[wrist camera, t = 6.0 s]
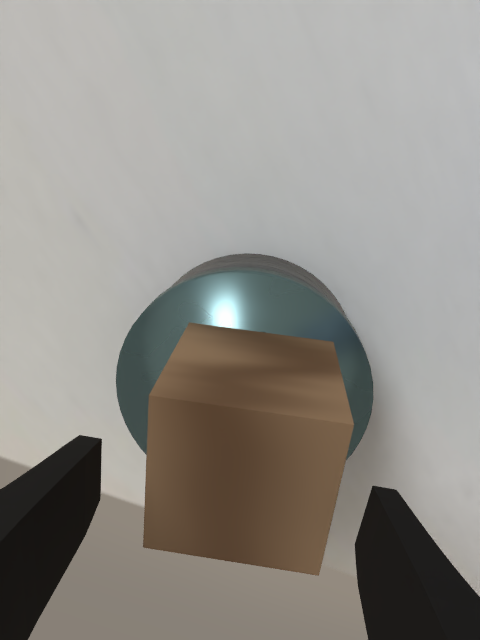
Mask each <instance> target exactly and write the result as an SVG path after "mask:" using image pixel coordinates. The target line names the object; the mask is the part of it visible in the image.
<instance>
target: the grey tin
mask: <svg viewBox="0 0 480 640" xmlns="http://www.w3.org/2000/svg"><path fill="white" fill-rule="evenodd" d="M189 322H190V323H197V324H205V325H212V326H220V327H227V328H235V329H242V330H250V331H257V332H265V333H272V334H280V335H287V336H295V337H302V338H310V339H317V340H325V341H332V342H334V346H335V350H336V354H337V358H338V362H339V366H340V370H341V374H342V378H343V382H344V386H345V390H346V394H347V398H348V402H349V406H350V410H351V414H352V418H353V423H354V427H353V431H352V435H351V440H350V444H349V448H348V453H347V457H346V460H347V459H348V457H349V456H350V455H351V454H352V453H353V451H354V450H355V448H356V447H357V445H358V444H359V442H360V441H361V439H362V436H363V434H364V432H365V430H366V428H367V425H368V422H369V418H370V415H371V410H372V403H373V381H372V375H371V368H370V365H369V362H368V359H367V356H366V353H365V350H364V348H363V345H362V343H361V341H360V339H359V337H358V335H357V333H356V331H355V329H354V327H353V326H352V324H351V323H350V322H349V320H348V319H347V317H346V315H345V313H344V311H343V309H342V307H341V305H340V304H339V302H338V301H337V299H336V298H335V296H334V295H333V294H332V292H331V291H330V290H329V289H328V288H327V287H326V286H325V285H324V284H323V283H322V282H321V281H320V280H319V279H317V278H316V277H315V276H314V275H313V274H311V273H309V272H308V271H306V270H305V269H303V268H301V267H300V266H297V265H295V264H293V263H291V262H289V261H286V260H283V259H280V258H276V257H273V256H267V255H261V254H235V255H228V256H224V257H219V258H216V259H213V260H210V261H207V262H205V263H203V264H201V265H199V266H197V267H195V268H193V269H192V270H190V271H189V272H187V273H186V274H185V275H183V276H182V277H181V278H180V279H179V280H178V281H177V282H176V283H174V284H173V285H172V287H170V288H169V289H167V290H166V291H165V292H163V293H162V294H160V295H159V296H158V297H157V298H156V299H155V300H154V301H153V302H152V303H151V304H150V305H149V306H148V307H147V308H146V309H145V311H144V312H143V313H142V314H141V315H140V317H139V318H138V319H137V321H136V322H135V323H134V324H133V326H132V328H131V329H130V331H129V333H128V335H127V337H126V338H125V341H124V343H123V346H122V349H121V351H120V355H119V360H118V364H117V374H116V387H117V397H118V402H119V406H120V410H121V413H122V416H123V418H124V421H125V423H126V425H127V427H128V429H129V431H130V433H131V435H132V437H133V438H134V439H135V441H136V442H137V444H138V445H139V447H140V448H141V449H142V450H143V451H144V453H145V454H146V455H147V432H148V405H149V394H150V392H151V391H152V389H153V387H154V385H155V383H156V381H157V380H158V378H159V376H160V374H161V372H162V371H163V369H164V367H165V365H166V363H167V362H168V360H169V358H170V356H171V354H172V353H173V351H174V349H175V347H176V345H177V344H178V342H179V340H180V338H181V336H182V335H183V333H184V331H185V329H186V327H187V325H188V324H189Z"/></svg>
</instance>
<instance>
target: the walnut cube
mask: <svg viewBox="0 0 480 640" xmlns="http://www.w3.org/2000/svg"><path fill="white" fill-rule="evenodd" d="M353 427H354V423H353V418H352V414H351V410H350V406H349V402H348V398H347V394H346V390H345V386H344V382H343V378H342V374H341V370H340V366H339V362H338V358H337V354H336V350H335V346H334V342H332V341H325V340H317V339H310V338H302V337H295V336H287V335H280V334H272V333H265V332H257V331H250V330H242V329H235V328H227V327H220V326H212V325H205V324H197V323H190V322H189V324H188V325H187V327H186V329H185V331H184V333H183V335H182V336H181V338H180V340H179V342H178V344H177V345H176V347H175V349H174V351H173V353H172V354H171V356H170V358H169V360H168V362H167V363H166V365H165V367H164V369H163V371H162V372H161V374H160V376H159V378H158V380H157V381H156V383H155V385H154V387H153V389H152V391H151V392H150V394H149V405H148V432H147V459H146V486H145V515H144V540H143V547H144V548H150V549H156V550H163V551H169V552H175V553H181V554H188V555H194V556H200V557H206V558H213V559H219V560H225V561H231V562H237V563H244V564H251V565H256V566H263V567H269V568H275V569H281V570H288V571H294V572H300V573H306V574H312V575H319V572H320V568H321V564H322V560H323V555H324V551H325V547H326V542H327V538H328V534H329V530H330V525H331V521H332V517H333V513H334V508H335V504H336V500H337V495H338V491H339V487H340V483H341V478H342V474H343V470H344V465H345V461H346V457H347V453H348V448H349V444H350V440H351V435H352V431H353Z"/></svg>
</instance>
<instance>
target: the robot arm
mask: <svg viewBox="0 0 480 640" xmlns="http://www.w3.org/2000/svg"><path fill="white" fill-rule="evenodd" d="M101 446H102V439H99V438H93V437H88V436H82V435H79V436H77V437H76V438H75V439H73V440H72V441H70V442H69V443H67V444H66V445H64V446H63V447H62V448H60V449H59V450H57V451H56V452H55V453H53V454H52V455H50V456H49V457H48V458H46V459H45V460H43V461H42V462H41V463H39V464H38V465H36V466H35V467H33V468H32V469H30V470H29V471H27V472H26V473H25V474H23V475H22V476H20V477H19V478H17V479H16V480H14V481H13V482H11V483H10V484H8V485H7V486H6V487H4V488H2V489H0V640H28V638H29V636H30V634H31V632H32V630H33V628H34V626H35V625H36V623H37V621H38V619H39V617H40V615H41V614H42V612H43V610H44V608H45V606H46V605H47V603H48V601H49V599H50V598H51V596H52V594H53V592H54V590H55V589H56V587H57V585H58V583H59V582H60V580H61V578H62V576H63V574H64V573H65V571H66V569H67V567H68V566H69V564H70V562H71V560H72V558H73V556H74V555H75V553H76V551H77V550H78V548H79V546H80V544H81V542H82V540H83V539H84V537H85V535H86V532H87V530H88V528H89V525H90V523H91V521H92V518H93V516H94V513H95V511H96V508H97V506H98V503H99V501H100V491H101ZM355 554H356V568H357V579H358V588H359V594H360V599H361V604H362V609H363V614H364V620H365V624H366V630H367V635H368V640H480V597H479V596H478V595H477V593H476V592H475V591H474V590H473V589H472V588H471V586H470V585H469V584H468V583H467V582H466V581H465V579H464V578H463V577H462V576H461V575H460V573H459V572H458V571H457V570H456V569H455V567H454V566H453V565H452V564H451V562H450V561H449V560H448V559H447V557H446V556H445V555H444V553H443V552H442V551H441V550H440V548H439V547H438V546H437V544H436V543H435V542H434V540H433V539H432V538H431V536H430V535H429V534H428V532H427V531H426V530H425V528H424V527H423V526H422V524H421V523H420V522H419V520H418V519H417V517H416V516H415V515H414V513H413V512H412V511H411V509H410V508H409V506H408V505H407V504H406V502H405V501H404V499H403V498H402V497H401V495H400V494H399V493H398V491H397V490H394V489H389V488H383V487H377V486H372V490H371V493H370V496H369V499H368V503H367V506H366V509H365V513H364V516H363V519H362V523H361V526H360V529H359V532H358V536H357V539H356V542H355Z"/></svg>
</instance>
